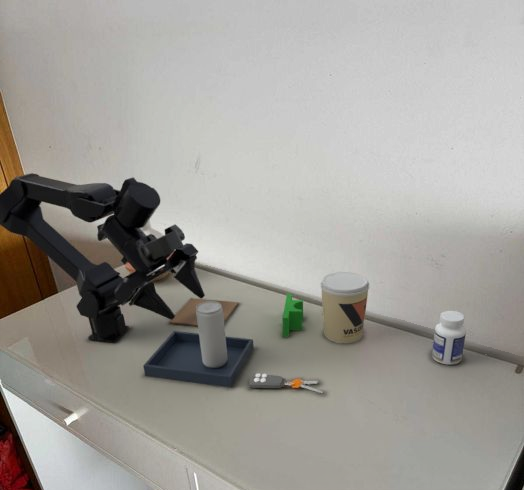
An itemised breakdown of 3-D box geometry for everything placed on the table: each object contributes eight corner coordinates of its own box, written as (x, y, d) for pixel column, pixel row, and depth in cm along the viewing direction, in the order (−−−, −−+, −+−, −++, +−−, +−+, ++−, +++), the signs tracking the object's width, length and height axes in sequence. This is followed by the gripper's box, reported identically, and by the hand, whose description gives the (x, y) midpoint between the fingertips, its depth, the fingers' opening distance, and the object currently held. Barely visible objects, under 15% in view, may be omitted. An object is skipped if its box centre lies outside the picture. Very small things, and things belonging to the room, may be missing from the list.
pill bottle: (460, 351, 94) (467, 310, 90) (462, 366, 90) (469, 324, 85) (431, 349, 96) (436, 307, 91) (431, 363, 91) (437, 321, 87)
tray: (145, 375, 93) (143, 365, 92) (175, 340, 104) (173, 330, 103) (231, 387, 88) (230, 377, 87) (253, 349, 99) (253, 339, 98)
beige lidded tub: (344, 351, 97) (346, 295, 91) (310, 333, 103) (310, 280, 97) (375, 334, 102) (379, 280, 96) (341, 318, 108) (343, 267, 102)
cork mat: (169, 323, 110) (169, 321, 110) (191, 300, 120) (191, 298, 120) (220, 328, 107) (219, 326, 107) (238, 304, 117) (238, 302, 116)
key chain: (248, 390, 87) (247, 383, 87) (252, 377, 90) (251, 371, 90) (322, 394, 85) (322, 387, 84) (324, 381, 88) (324, 374, 87)
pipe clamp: (301, 337, 102) (301, 318, 100) (283, 337, 103) (282, 318, 100) (304, 311, 112) (303, 293, 109) (287, 311, 112) (286, 293, 110)
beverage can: (197, 363, 95) (189, 307, 89) (217, 353, 98) (210, 298, 92) (213, 372, 92) (206, 315, 86) (233, 361, 95) (227, 305, 89)
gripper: (112, 232, 79) (178, 306, 79) (183, 201, 92) (239, 264, 93) (88, 271, 86) (148, 338, 87) (157, 236, 100) (209, 295, 100)
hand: (188, 307), depth 91 cm, fingers open, 9 cm apart
